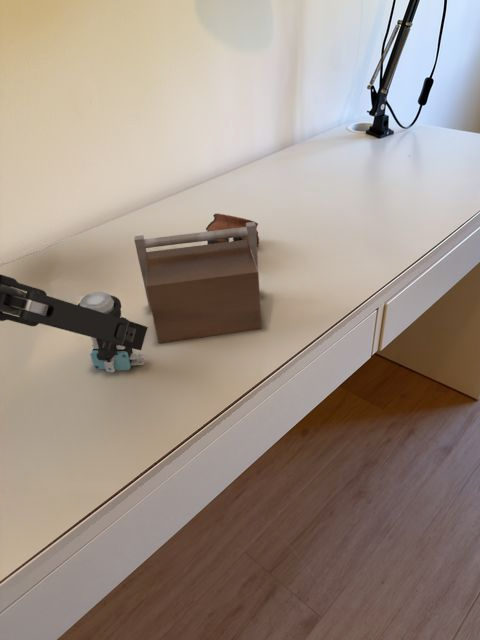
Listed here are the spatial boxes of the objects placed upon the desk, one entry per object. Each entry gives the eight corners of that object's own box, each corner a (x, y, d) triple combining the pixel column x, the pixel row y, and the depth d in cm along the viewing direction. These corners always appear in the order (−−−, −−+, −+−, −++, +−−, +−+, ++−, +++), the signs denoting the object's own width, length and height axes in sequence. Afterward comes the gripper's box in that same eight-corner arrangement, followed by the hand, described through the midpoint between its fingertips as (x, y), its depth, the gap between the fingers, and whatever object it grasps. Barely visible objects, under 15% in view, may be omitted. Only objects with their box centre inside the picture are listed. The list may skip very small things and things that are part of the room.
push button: (150, 353, 69) (135, 288, 63) (139, 380, 65) (121, 314, 58) (101, 351, 70) (82, 287, 63) (87, 378, 65) (64, 312, 59)
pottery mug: (190, 258, 89) (199, 209, 87) (237, 267, 94) (246, 220, 93) (224, 270, 79) (235, 215, 78) (274, 278, 85) (286, 227, 83)
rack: (149, 307, 77) (134, 235, 70) (258, 292, 79) (254, 221, 72) (150, 344, 70) (133, 269, 63) (269, 327, 72) (266, 252, 65)
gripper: (-192, 289, 45) (4, 331, 65) (24, 360, 36) (175, 384, 56) (-165, 206, 45) (22, 273, 65) (55, 256, 36) (194, 316, 56)
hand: (93, 324), depth 61 cm, fingers open, 13 cm apart
